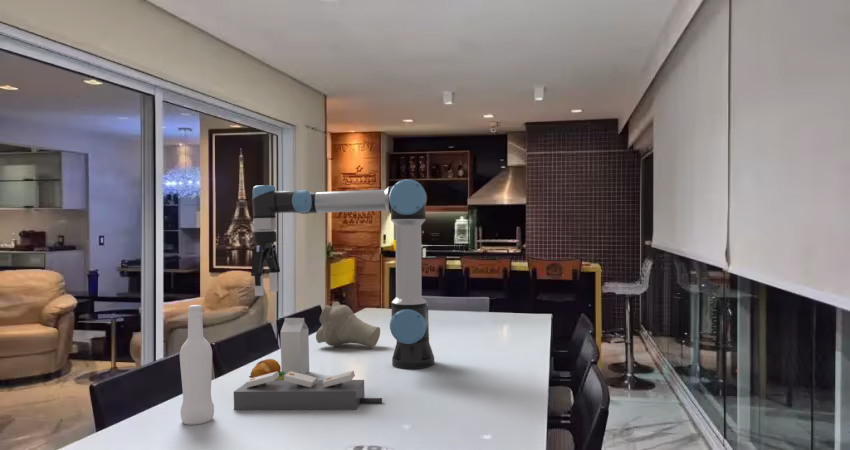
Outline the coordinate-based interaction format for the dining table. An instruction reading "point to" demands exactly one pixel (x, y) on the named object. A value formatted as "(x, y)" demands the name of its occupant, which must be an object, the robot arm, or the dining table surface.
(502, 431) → the dining table surface
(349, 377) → the rocker
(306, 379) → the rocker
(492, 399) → the dining table surface
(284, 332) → the milk carton
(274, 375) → the rocker
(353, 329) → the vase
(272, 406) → the power strip
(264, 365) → the cheeseburger
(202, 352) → the bottle
